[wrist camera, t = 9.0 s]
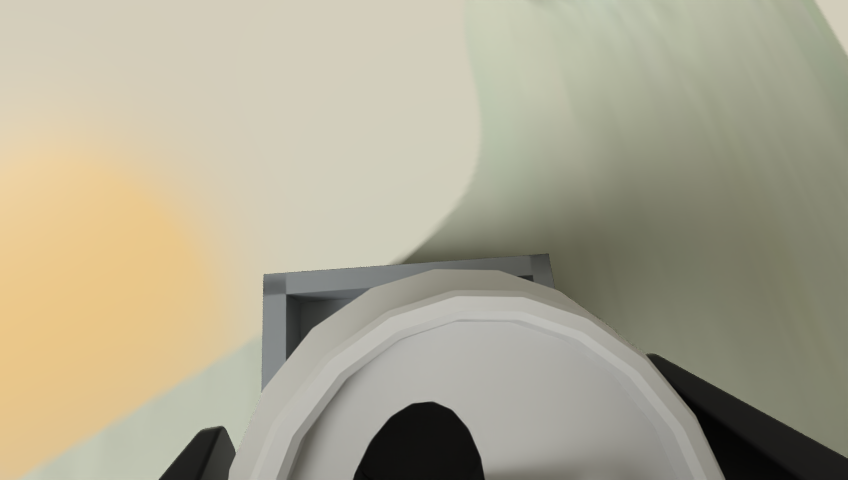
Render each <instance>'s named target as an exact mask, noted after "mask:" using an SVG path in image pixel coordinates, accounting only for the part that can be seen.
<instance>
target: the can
mask: <svg viewBox="0 0 848 480" xmlns="http://www.w3.org/2000/svg"><path fill="white" fill-rule="evenodd" d="M228 480H725V478H724V475H723V473H722V471H721V469H720V467H719V465H718V463H717V461H716V458H715V456H714V454H713V452H712V450H711V448H710V446H709V443H708V441H707V439H706V437H705V435H704V433H703V431H702V429H701V426H700V424H699V422H698V420H697V418H696V416H695V414H694V413H693V412H692V411H691V409H690V408H689V407H688V406H687V405H686V403H685V402H684V401H683V400H682V398H681V397H680V396H679V395H678V394H677V392H676V391H675V390H674V389H673V388H672V386H671V385H670V384H669V383H668V381H667V380H666V379H665V378H664V377H663V375H662V374H661V373H660V372H659V370H658V369H657V368H656V367H655V366H654V364H653V363H652V362H651V361H650V359H649V358H648V357H647V356H646V355H645V354H644V353H643V352H641V351H640V350H638V349H637V348H635V347H634V346H633V345H631V344H630V343H628V342H627V341H626V340H624V339H623V338H621V337H620V336H619V335H618V334H617V333H616V332H615V330H614V329H612V328H611V327H610V326H608V325H607V324H605V323H604V322H602V321H601V320H600V319H598V318H597V317H595V316H594V315H593V314H591V313H590V312H588V311H587V310H586V309H584V308H583V307H581V306H580V305H578V304H577V303H576V302H574V301H573V300H571V299H570V298H569V297H567V296H566V295H564V294H563V293H562V292H560V291H558V290H555V289H552V288H549V287H546V286H543V285H540V284H537V283H534V282H532V281H529V280H526V279H523V278H520V277H517V276H514V275H511V274H508V273H505V272H502V271H499V270H456V269H433V270H430V271H427V272H423V273H420V274H417V275H413V276H410V277H407V278H403V279H400V280H397V281H394V282H390V283H387V284H384V285H380V286H377V287H374V288H371V289H369V290H368V291H366V292H365V293H364V294H362V295H361V296H359V297H358V298H356V299H355V300H353V301H352V302H350V303H349V304H347V305H346V306H345V307H343V308H342V309H340V310H339V311H337V312H336V313H334V314H333V315H331V316H330V317H328V318H327V319H326V320H324V321H323V322H321V323H320V324H318V325H317V326H315V327H314V328H312V330H311V331H310V332H309V333H308V335H307V336H306V337H305V338H304V340H303V341H302V342H301V343H300V345H299V346H298V347H297V348H296V350H295V351H294V352H293V353H292V354H291V356H290V357H289V358H288V359H287V361H286V362H285V363H284V364H283V366H282V367H281V368H280V369H279V371H278V372H277V373H276V374H275V376H274V377H273V378H272V379H271V381H270V382H269V383H268V384H267V385H266V387H265V388H264V389H263V391H262V394H261V396H260V398H259V401H258V403H257V405H256V408H255V410H254V413H253V415H252V417H251V420H250V422H249V424H248V427H247V429H246V432H245V434H244V436H243V439H242V441H241V443H240V446H239V448H238V451H237V453H236V455H235V458H234V460H233V462H232V465H231V467H230V469H229V477H228Z"/></svg>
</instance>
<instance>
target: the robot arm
mask: <svg viewBox="0 0 848 480" xmlns="http://www.w3.org/2000/svg"><path fill="white" fill-rule="evenodd" d="M645 355H646V356H647V357H648V358H649V359H650V361H651V362H652V363H653V364H654V366H655V367H656V368H657V369H658V370H659V372H660V373H661V374H662V375H663V377H664V378H665V379H666V380H667V381H668V383H669V384H670V385H671V386H672V388H673V389H674V390H675V391H676V392H677V394H678V395H679V396H680V397H681V398H682V400H683V401H684V402H685V403H686V405H687V406H688V407H689V408H690V409H691V411H692V412H693V413H694V414H695V416H696V418H697V420H698V422H699V424H700V426H701V429H702V431H703V433H704V435H705V437H706V439H707V441H708V443H709V446H710V448H711V450H712V452H713V454H714V456H715V458H716V461H717V463H718V465H719V467H720V469H721V471H722V473H723V475H724V478H725V480H848V458H846V457H844V456H842V455H840V454H839V453H837V452H835V451H833V450H831V449H829V448H828V447H826V446H824V445H822V444H820V443H818V442H816V441H815V440H813V439H811V438H809V437H807V436H805V435H804V434H802V433H800V432H798V431H796V430H794V429H793V428H791V427H789V426H787V425H785V424H783V423H782V422H780V421H778V420H776V419H774V418H772V417H771V416H769V415H767V414H765V413H763V412H761V411H760V410H758V409H756V408H754V407H752V406H750V405H749V404H747V403H745V402H743V401H741V400H739V399H737V398H736V397H734V396H732V395H730V394H728V393H726V392H725V391H723V390H721V389H719V388H717V387H715V386H714V385H712V384H710V383H708V382H706V381H704V380H703V379H701V378H699V377H697V376H695V375H693V374H692V373H690V372H688V371H686V370H684V369H682V368H681V367H679V366H677V365H675V364H673V363H671V362H670V361H668V360H666V359H664V358H662V357H660V356H658V355H656V354H645ZM235 455H236V452H235V449H234V446H233V444H232V442H231V440H230V437H229V435H228V433H227V430H226V429H225V428H224V427H223V426H217V427H211V428H205V429H203V430H201V431H200V432H198V433H197V434H196V436H195V437H194V438H193V439H192V440H191V442H190V443H189V444H188V445H187V446H186V448H185V449H184V450H183V451H182V452H181V453H180V455H179V456H178V457H177V458H176V459H175V461H174V462H173V463H172V464H171V465H170V467H169V468H168V469H167V470H166V471H165V473H164V474H163V475H162V476H161V477H160V478H159V480H228V477H229V469H230V467H231V465H232V462H233V460H234V458H235Z"/></svg>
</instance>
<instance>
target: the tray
mask: <svg viewBox="0 0 848 480" xmlns="http://www.w3.org/2000/svg"><path fill="white" fill-rule="evenodd" d="M433 269H456V270H499V271H502V272H505V273H508V274H511V275H514V276H517V277H520V278H523V279H526V280H529V281H532V282H534V283H537V284H540V285H543V286H546V287H549V288H552V289H555V286H554V281H553V276H552V270H551V265H550V260H549V254H539V255H525V256H511V257H497V258H483V259H469V260H455V261H441V262H427V263H414V264H400V265H386V266H372V267H359V268H345V269H331V270H317V271H302V272H289V273H274V274H264V281H263V335H262V391H263V389H264V388H265V387H266V385H267V384H268V383H269V382H270V381H271V379H272V378H273V377H274V376H275V374H276V373H277V372H278V371H279V369H280V368H281V367H282V366H283V364H284V363H285V362H286V361H287V359H288V358H289V357H290V356H291V354H292V353H293V352H294V351H295V350H296V348H297V347H298V346H299V345H300V343H301V342H302V341H303V340H304V338H305V337H306V336H307V335H308V333H309V332H310V331H311V330H312V328H314V327H315V326H317V325H318V324H320V323H321V322H323V321H324V320H326V319H327V318H328V317H330V316H331V315H333V314H334V313H336V312H337V311H339V310H340V309H342V308H343V307H345V306H346V305H347V304H349V303H350V302H352V301H353V300H355V299H356V298H358V297H359V296H361V295H362V294H364V293H365V292H366V291H368V290H369V289H371V288H374V287H377V286H380V285H384V284H387V283H390V282H394V281H397V280H400V279H403V278H407V277H410V276H413V275H417V274H420V273H423V272H427V271H430V270H433ZM262 391H261V394H262Z"/></svg>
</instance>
